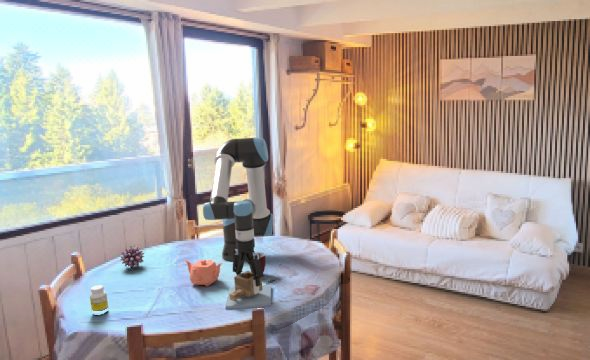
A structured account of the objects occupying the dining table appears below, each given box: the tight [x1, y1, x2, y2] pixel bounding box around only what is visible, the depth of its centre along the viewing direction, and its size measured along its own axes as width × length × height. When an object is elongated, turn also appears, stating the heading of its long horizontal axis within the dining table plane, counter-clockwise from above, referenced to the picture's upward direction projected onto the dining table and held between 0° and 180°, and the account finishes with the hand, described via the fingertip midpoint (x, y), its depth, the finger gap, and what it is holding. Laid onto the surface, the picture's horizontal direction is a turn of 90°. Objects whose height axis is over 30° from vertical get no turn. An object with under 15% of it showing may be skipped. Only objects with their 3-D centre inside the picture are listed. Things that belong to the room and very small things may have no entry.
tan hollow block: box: [228, 270, 263, 301], centre depth 186 cm, size 14×8×7 cm, turn 142°
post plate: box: [225, 284, 272, 310], centre depth 189 cm, size 18×18×6 cm
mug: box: [249, 251, 267, 273], centre depth 211 cm, size 11×8×10 cm
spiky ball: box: [120, 244, 145, 268], centre depth 231 cm, size 12×12×12 cm
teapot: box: [184, 259, 224, 287], centre depth 207 cm, size 14×14×11 cm
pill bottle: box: [89, 284, 109, 311], centre depth 182 cm, size 6×6×11 cm
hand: (248, 290), depth 189 cm, fingers closed on tan hollow block, 8 cm apart
